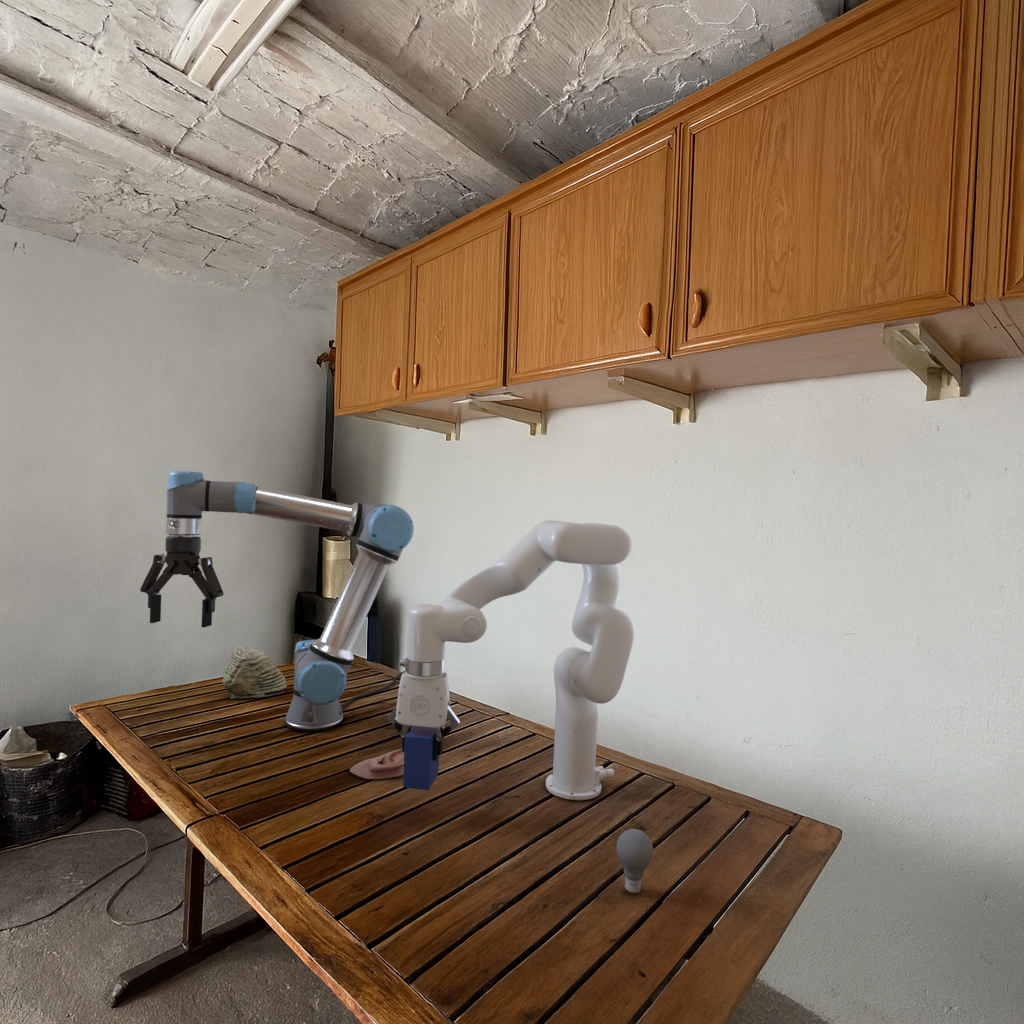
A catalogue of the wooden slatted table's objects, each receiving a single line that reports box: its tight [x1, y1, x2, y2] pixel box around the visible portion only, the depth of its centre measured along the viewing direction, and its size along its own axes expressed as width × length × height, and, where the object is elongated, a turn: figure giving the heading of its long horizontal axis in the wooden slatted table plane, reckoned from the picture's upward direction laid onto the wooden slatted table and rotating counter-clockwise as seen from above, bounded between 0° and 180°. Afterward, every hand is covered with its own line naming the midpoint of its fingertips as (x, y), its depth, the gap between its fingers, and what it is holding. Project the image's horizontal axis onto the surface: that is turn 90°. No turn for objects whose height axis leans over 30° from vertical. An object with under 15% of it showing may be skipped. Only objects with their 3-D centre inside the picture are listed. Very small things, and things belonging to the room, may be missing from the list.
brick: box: [402, 726, 440, 791], centre depth 127 cm, size 5×8×10 cm
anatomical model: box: [349, 748, 404, 780], centre depth 148 cm, size 13×4×12 cm
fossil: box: [222, 646, 288, 699], centre depth 198 cm, size 9×18×15 cm, turn 132°
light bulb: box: [615, 828, 654, 894], centre depth 106 cm, size 6×6×10 cm
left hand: (180, 624), depth 152 cm, fingers open, 13 cm apart
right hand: (422, 755), depth 127 cm, fingers closed on brick, 5 cm apart
